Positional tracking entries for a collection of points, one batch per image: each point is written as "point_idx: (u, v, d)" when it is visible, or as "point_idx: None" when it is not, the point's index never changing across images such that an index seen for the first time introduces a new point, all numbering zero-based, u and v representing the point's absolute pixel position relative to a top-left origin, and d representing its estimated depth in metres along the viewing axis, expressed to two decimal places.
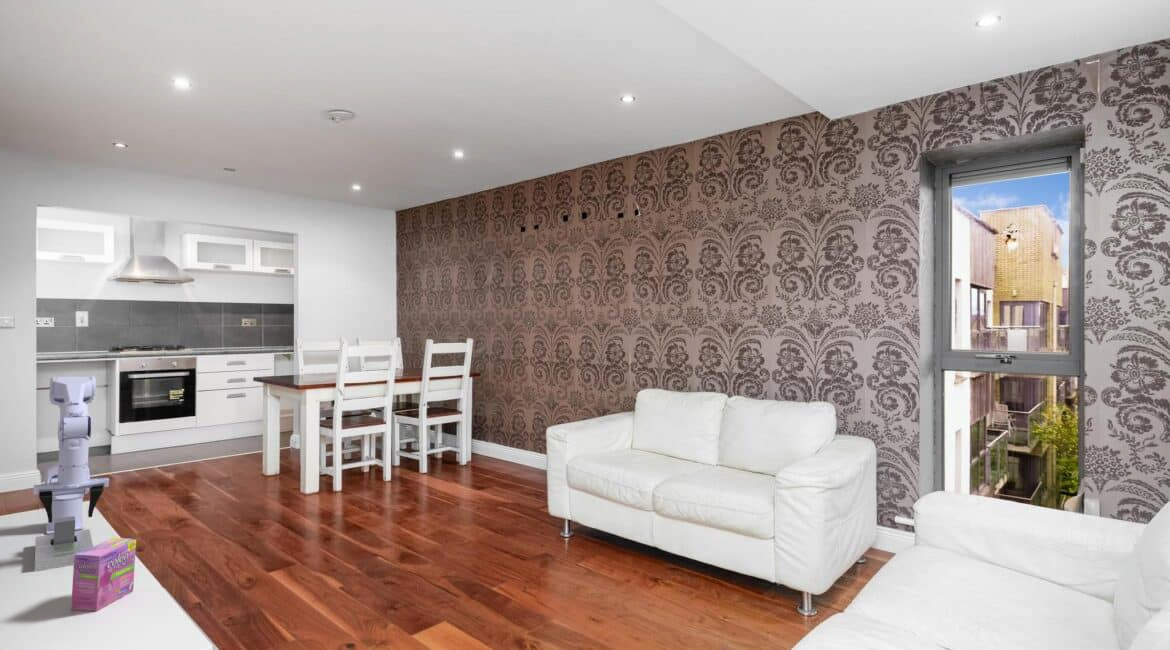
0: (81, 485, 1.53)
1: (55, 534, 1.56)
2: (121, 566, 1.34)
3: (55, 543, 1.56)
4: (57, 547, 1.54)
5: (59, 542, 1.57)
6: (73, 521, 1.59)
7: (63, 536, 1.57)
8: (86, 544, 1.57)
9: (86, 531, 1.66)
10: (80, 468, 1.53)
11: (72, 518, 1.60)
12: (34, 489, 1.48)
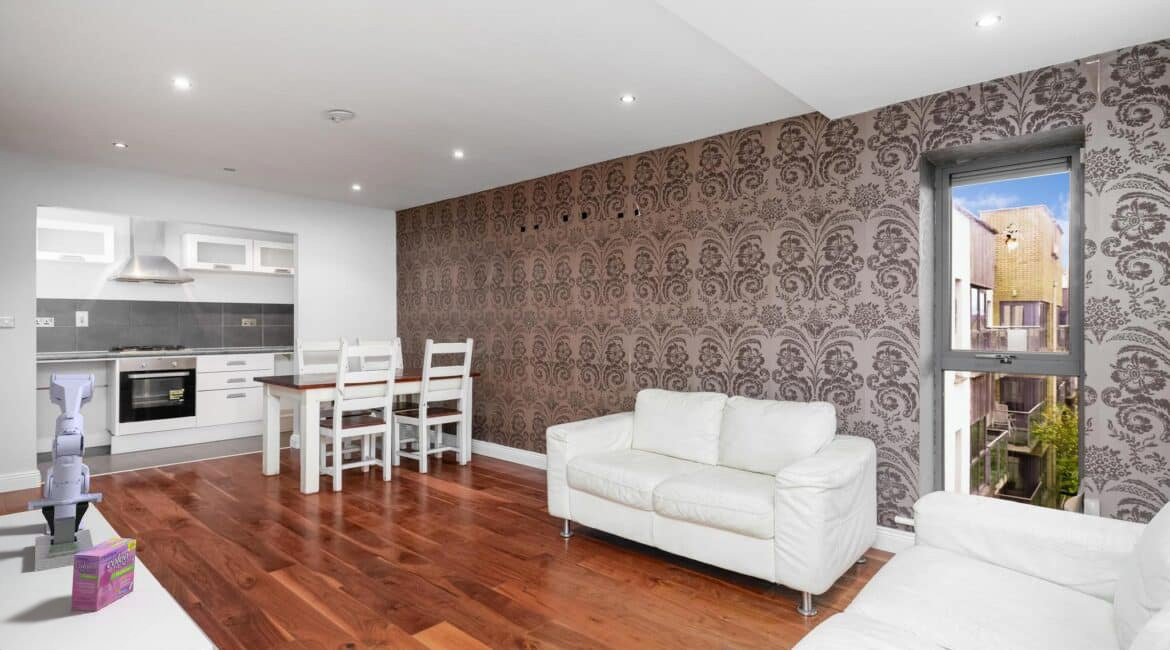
0: (74, 501, 1.58)
1: (55, 534, 1.56)
2: (121, 566, 1.34)
3: (55, 543, 1.56)
4: (57, 547, 1.54)
5: (59, 542, 1.57)
6: (73, 521, 1.59)
7: (63, 536, 1.57)
8: (86, 544, 1.57)
9: (86, 531, 1.66)
10: (73, 484, 1.58)
11: (72, 518, 1.60)
12: (29, 505, 1.54)
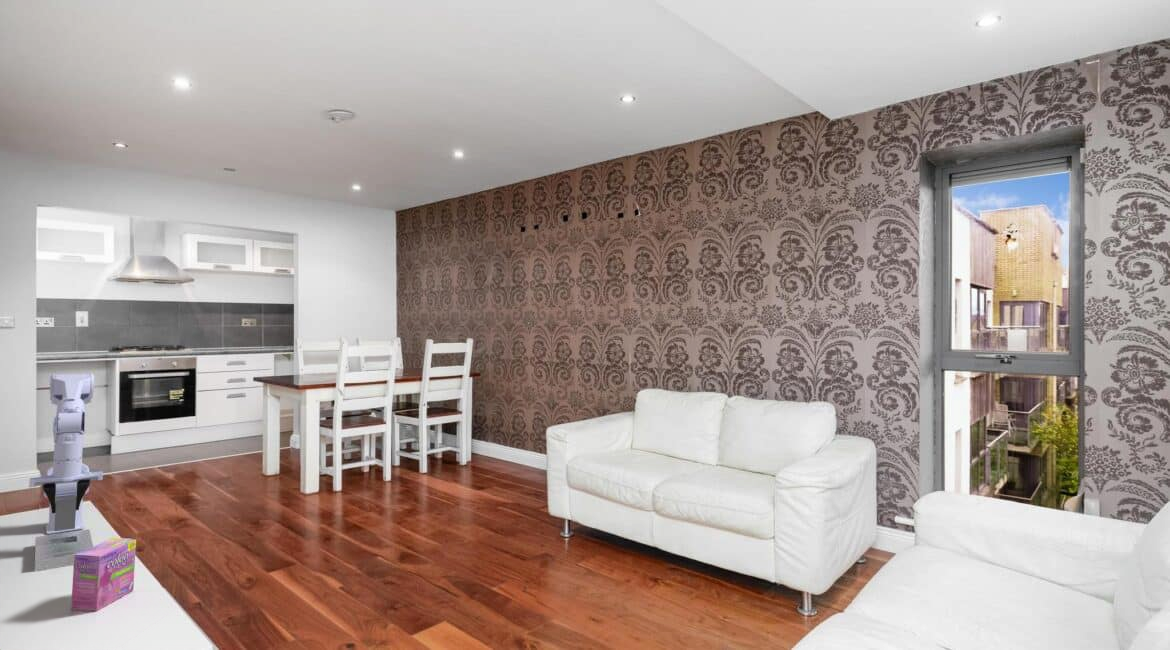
0: (75, 478, 1.58)
1: (56, 511, 1.56)
2: (121, 566, 1.34)
3: (56, 520, 1.56)
4: (57, 547, 1.54)
5: (60, 519, 1.57)
6: (74, 499, 1.59)
7: (64, 514, 1.57)
8: (86, 544, 1.57)
9: (86, 531, 1.66)
10: (75, 462, 1.58)
11: (73, 496, 1.60)
12: (30, 482, 1.54)
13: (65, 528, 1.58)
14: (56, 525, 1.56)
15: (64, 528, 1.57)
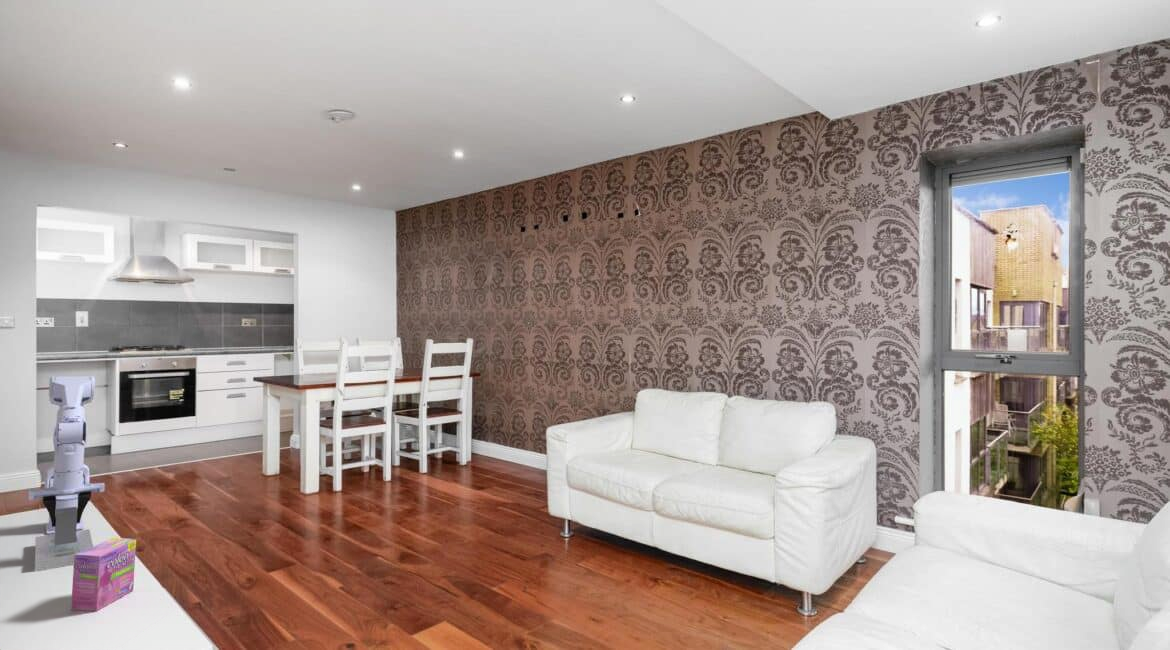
0: (76, 490, 1.53)
1: (56, 525, 1.51)
2: (121, 566, 1.34)
3: (56, 534, 1.51)
4: (57, 547, 1.54)
5: (61, 533, 1.52)
6: (75, 511, 1.54)
7: (65, 527, 1.52)
8: (86, 544, 1.57)
9: (86, 531, 1.66)
10: (75, 473, 1.53)
11: (74, 508, 1.55)
12: (29, 494, 1.48)
13: (66, 542, 1.52)
14: (56, 539, 1.51)
15: (65, 542, 1.52)
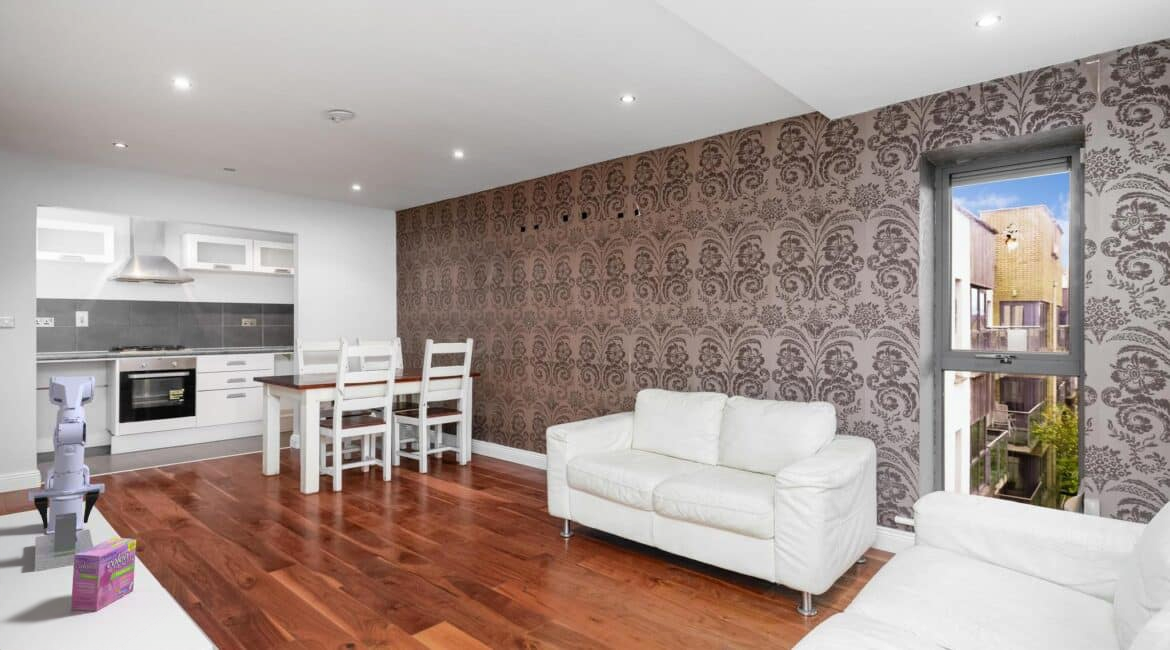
0: (76, 491, 1.53)
1: (56, 531, 1.51)
2: (121, 566, 1.34)
3: (56, 540, 1.51)
4: None
5: (60, 539, 1.52)
6: (75, 517, 1.54)
7: (64, 533, 1.52)
8: (86, 544, 1.57)
9: (86, 531, 1.66)
10: (75, 474, 1.53)
11: (73, 514, 1.55)
12: (29, 495, 1.48)
13: (65, 548, 1.52)
14: (56, 545, 1.51)
15: (64, 548, 1.52)
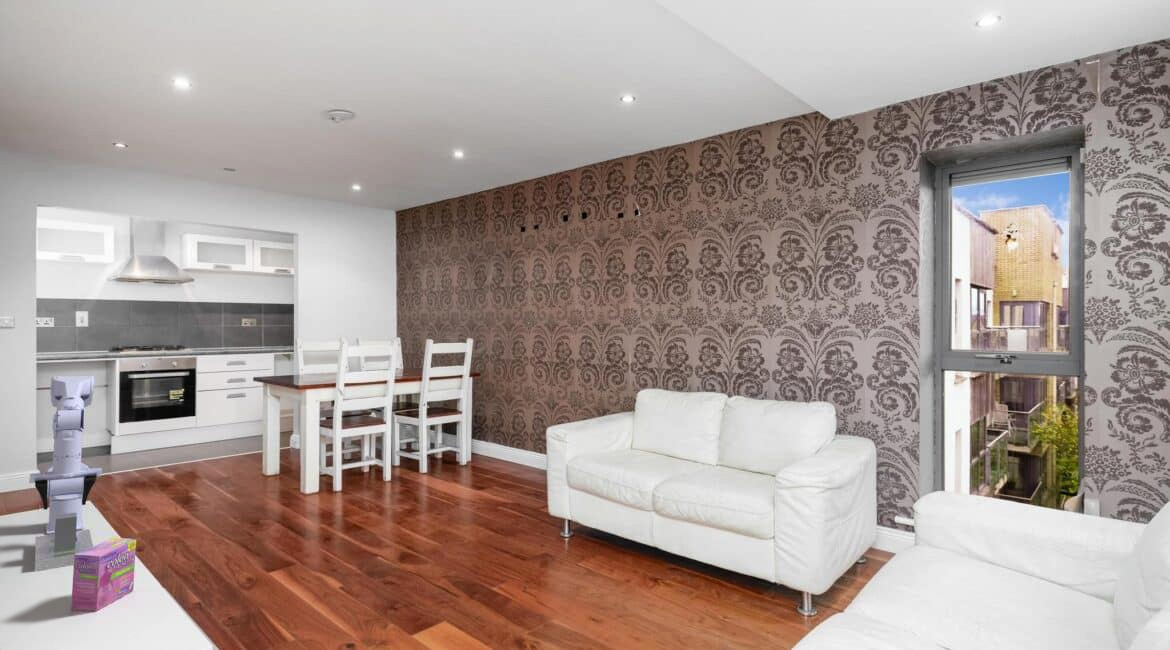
0: (75, 474, 1.61)
1: (56, 531, 1.51)
2: (121, 566, 1.34)
3: (56, 540, 1.51)
4: None
5: (60, 539, 1.52)
6: (75, 517, 1.54)
7: (64, 533, 1.52)
8: (86, 544, 1.57)
9: (86, 531, 1.66)
10: (74, 458, 1.61)
11: (73, 514, 1.55)
12: (30, 478, 1.57)
13: (65, 548, 1.52)
14: (56, 545, 1.51)
15: (64, 548, 1.52)
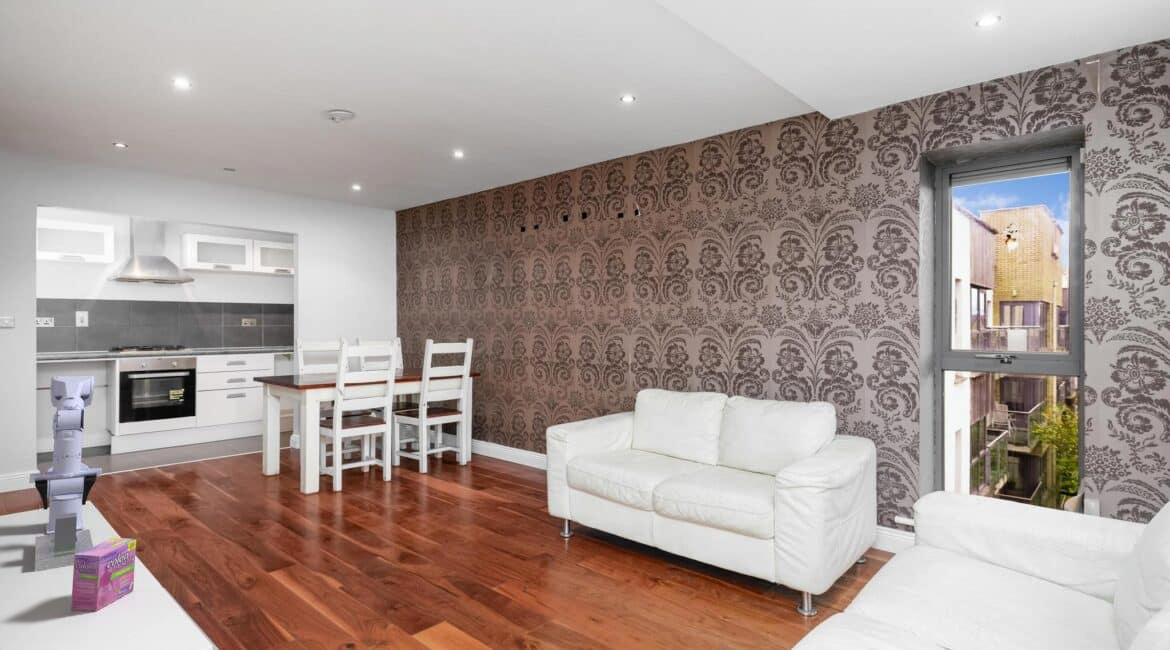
0: (75, 474, 1.61)
1: (56, 531, 1.51)
2: (121, 566, 1.34)
3: (56, 540, 1.51)
4: None
5: (60, 539, 1.52)
6: (75, 517, 1.54)
7: (64, 533, 1.52)
8: (86, 544, 1.57)
9: (86, 531, 1.66)
10: (74, 458, 1.61)
11: (73, 514, 1.55)
12: (30, 478, 1.57)
13: (65, 548, 1.52)
14: (56, 545, 1.51)
15: (64, 548, 1.52)
